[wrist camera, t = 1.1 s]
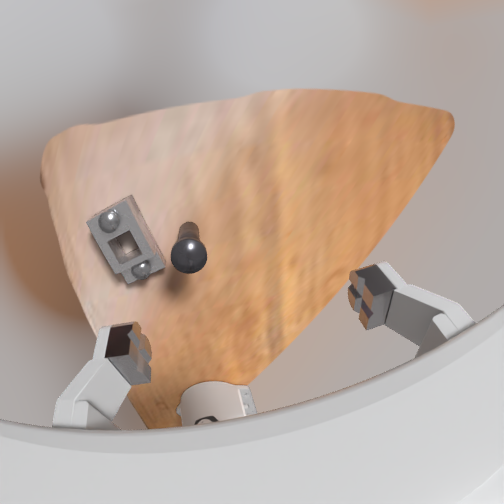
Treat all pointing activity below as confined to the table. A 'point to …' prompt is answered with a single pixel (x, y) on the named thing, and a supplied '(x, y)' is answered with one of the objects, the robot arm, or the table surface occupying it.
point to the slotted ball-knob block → (130, 218)
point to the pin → (189, 250)
